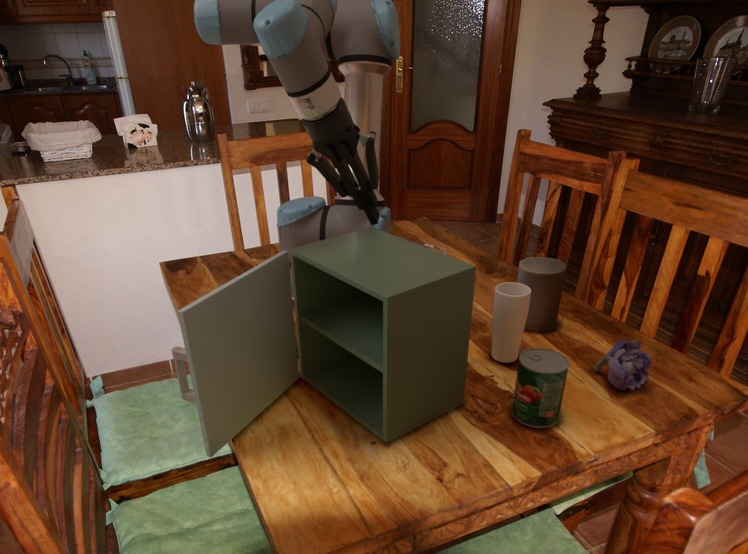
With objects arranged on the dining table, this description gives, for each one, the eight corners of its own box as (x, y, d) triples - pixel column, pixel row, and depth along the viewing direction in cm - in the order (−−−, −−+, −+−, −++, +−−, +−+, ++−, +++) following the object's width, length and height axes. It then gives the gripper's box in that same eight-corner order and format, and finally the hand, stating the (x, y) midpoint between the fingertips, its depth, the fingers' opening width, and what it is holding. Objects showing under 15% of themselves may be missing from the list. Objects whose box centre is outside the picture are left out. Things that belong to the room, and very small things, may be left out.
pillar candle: (566, 326, 126) (577, 262, 119) (531, 336, 123) (541, 270, 115) (535, 309, 134) (545, 247, 126) (502, 318, 131) (509, 255, 123)
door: (181, 446, 94) (149, 303, 81) (272, 370, 113) (258, 246, 100) (211, 457, 91) (182, 312, 78) (299, 378, 111) (288, 251, 98)
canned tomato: (567, 414, 99) (579, 359, 93) (543, 434, 94) (553, 378, 89) (527, 395, 104) (535, 343, 98) (502, 414, 99) (509, 359, 94)
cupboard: (386, 443, 93) (387, 297, 80) (300, 376, 111) (289, 248, 98) (463, 403, 102) (476, 266, 89) (372, 347, 120) (371, 226, 107)
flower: (579, 345, 106) (636, 336, 99) (595, 346, 112) (650, 338, 106) (586, 395, 105) (644, 389, 98) (601, 393, 111) (657, 388, 105)
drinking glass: (522, 367, 112) (533, 297, 105) (487, 364, 113) (494, 295, 106) (520, 350, 118) (530, 282, 110) (487, 347, 119) (494, 280, 112)
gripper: (280, 132, 91) (341, 240, 108) (354, 109, 86) (405, 226, 103) (291, 106, 95) (347, 213, 112) (361, 82, 90) (410, 198, 107)
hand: (375, 219), depth 107 cm, fingers closed
